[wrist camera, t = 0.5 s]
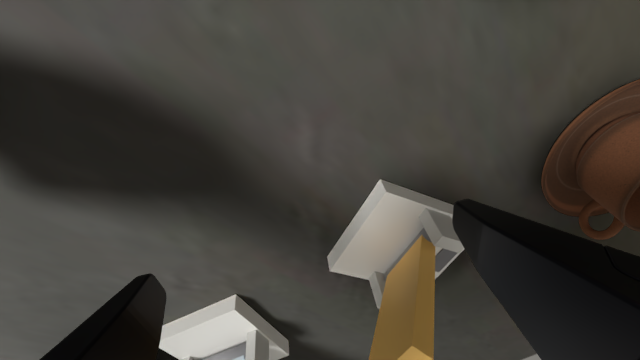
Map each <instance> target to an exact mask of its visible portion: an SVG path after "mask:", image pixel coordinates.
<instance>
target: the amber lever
mask: <svg viewBox="0 0 640 360" xmlns="http://www.w3.org/2000/svg"><path fill="white" fill-rule="evenodd" d="M384 280H385V281H386V283H385V288H384V292H383V297H382V301H381V306H380V311H379V315H378V320H377V324H376V329H375V333H374V338H373V342H372V347H371V352H370V356H369V360H433V352H434V298H435V246H434V245H433V243H432V242H431V240H430V238H429V236H428V234H427V232H426V230H425V229H424V228H423V229H422V230H421V231H420V233H419V234H418V235H417V236H416V237H415V238H414V240H413V241H412V242H411V243H410V244H409V246H408V247H407V248H406V249H405V250H404V252H403V253H402V254H401V255H400V256H399V258H398V259H397V260H396V261H395V262H394V263H393V265H392V266H391V267H390V268H389V269H388V271H387V272H386V273H385V274H384Z"/></svg>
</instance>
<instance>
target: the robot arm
mask: <svg viewBox="0 0 640 360" xmlns="http://www.w3.org/2000/svg"><path fill="white" fill-rule="evenodd" d="M452 225H453V228H454V231H455V233H456V234H457V236H458V238H459V240H460V242H461V243H462V245H463V247H464V249H465V251H466V252H467V254H468V256H469V258H470V260H471V261H472V263H473V265H474V267H475V268H476V270H477V271H478V273H479V274H480V276H481V277H482V278H483V280H484V281H485V283H486V284H487V285H488V287H489V288H490V289H491V291H492V292H493V294H494V295H495V296H496V298H497V299H498V300H499V302H500V303H501V305H502V306H503V307H504V309H505V310H506V312H507V313H508V314H509V316H510V317H511V318H512V320H513V321H514V323H515V324H516V325H517V327H518V328H519V329H520V331H521V332H522V334H523V335H524V336H525V338H526V339H527V340H528V342H529V343H530V345H531V346H532V347H533V349H534V350H535V352H536V353H537V354H538V355H539V357H540V358H541V360H640V257H639V256H636V255H633V254H630V253H627V252H624V251H621V250H618V249H615V248H612V247H609V246H603V245H602V244H599V243H596V242H593V241H590V240H587V239H584V238H581V237H578V236H575V235H573V234H570V233H567V232H564V231H561V230H558V229H555V228H552V227H549V226H546V225H543V224H540V223H537V222H534V221H532V220H529V219H526V218H523V217H520V216H517V215H514V214H511V213H508V212H505V211H502V210H499V209H496V208H493V207H491V206H488V205H485V204H482V203H479V202H476V201H473V200H470V199H464V200H460V201H456V202H455V203H454V206H453V217H452ZM165 304H166V292H165V290H164V288H163V287H162V285H161V284H160V283H159V282H158V280H157V279H156V278H155V276H154V275H153V274H145V275H141V276H138V277H136V278H135V279H133V280H132V281H131V282H130V283H129V284H128V285H126V286H125V287H124V288H123V289H122V290H121V291H119V292H118V293H117V294H116V295H115V296H114V297H112V298H111V299H110V300H109V301H108V302H107V303H105V304H104V305H103V306H102V307H101V308H100V309H98V310H97V311H96V312H95V313H94V314H92V315H91V316H90V317H89V318H88V319H87V320H85V321H84V322H83V323H82V324H81V325H80V326H78V327H77V328H76V329H75V330H74V331H73V332H71V333H70V334H69V335H68V336H67V337H66V338H64V339H63V340H62V341H61V342H60V343H59V344H57V345H56V346H55V347H54V348H53V349H52V350H50V351H49V352H48V353H47V354H46V355H45V356H43V357H42V358H41V359H40V360H156V357H157V353H158V349H159V344H160V339H161V332H162V325H163V318H164V311H165Z"/></svg>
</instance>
